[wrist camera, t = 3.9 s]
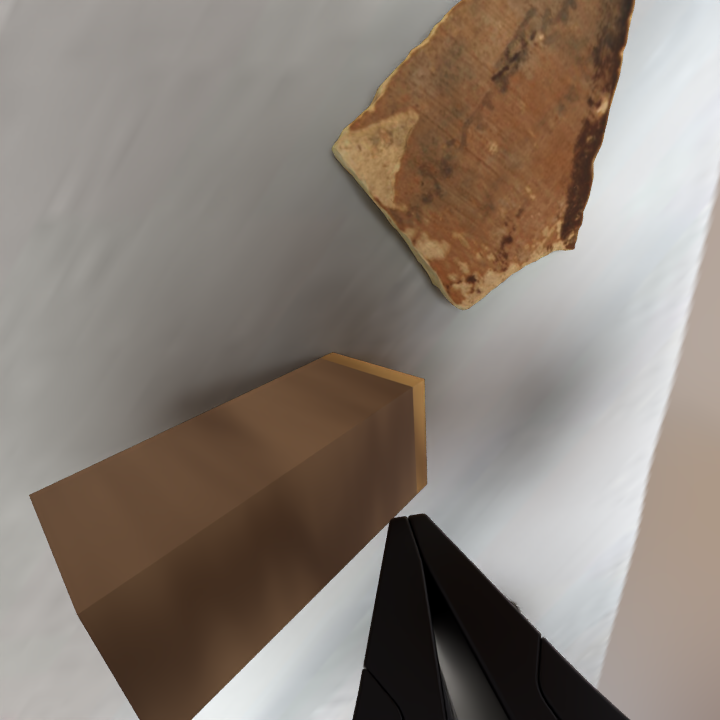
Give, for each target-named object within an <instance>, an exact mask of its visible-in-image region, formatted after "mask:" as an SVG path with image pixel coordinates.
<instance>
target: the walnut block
mask: <svg viewBox="0 0 720 720" xmlns="http://www.w3.org/2000/svg"><path fill="white" fill-rule="evenodd" d="M426 485H427V457H426V418H425V379H423V378H419V377H416V376H412V375H409V374H405V373H402V372H399V371H395V370H392V369H388V368H385V367H381V366H378V365H374V364H371V363H368V362H364V361H361V360H357V359H354V358H350V357H347V356H343V355H340V354H337V353H333V352H332V353H330V354H328V355H326V356H324V357H321V358H319V359H317V360H315V361H313V362H311V363H309V364H307V365H304V366H302V367H300V368H298V369H296V370H294V371H292V372H290V373H287V374H285V375H283V376H281V377H279V378H277V379H275V380H273V381H270V382H268V383H266V384H264V385H262V386H260V387H258V388H256V389H253V390H251V391H249V392H247V393H245V394H243V395H241V396H239V397H236V398H234V399H232V400H230V401H228V402H226V403H224V404H222V405H219V406H217V407H215V408H213V409H211V410H209V411H207V412H205V413H202V414H200V415H198V416H196V417H194V418H192V419H190V420H188V421H185V422H183V423H181V424H179V425H177V426H175V427H173V428H171V429H168V430H166V431H164V432H162V433H160V434H158V435H156V436H154V437H151V438H149V439H147V440H145V441H143V442H141V443H139V444H137V445H134V446H132V447H130V448H128V449H126V450H124V451H122V452H120V453H117V454H115V455H113V456H111V457H109V458H107V459H105V460H103V461H100V462H98V463H96V464H94V465H92V466H90V467H88V468H86V469H83V470H81V471H79V472H77V473H75V474H73V475H71V476H69V477H66V478H64V479H62V480H60V481H58V482H56V483H54V484H52V485H49V486H47V487H45V488H43V489H41V490H39V491H37V492H35V493H32V494H30V495H29V496H30V499H31V501H32V504H33V506H34V509H35V511H36V514H37V516H38V518H39V521H40V523H41V526H42V528H43V531H44V533H45V536H46V538H47V541H48V543H49V546H50V548H51V551H52V553H53V556H54V558H55V561H56V563H57V566H58V568H59V571H60V573H61V576H62V578H63V581H64V583H65V586H66V588H67V591H68V593H69V596H70V598H71V601H72V603H73V606H74V608H75V610H76V613H77V615H78V617H79V619H80V620H81V622H82V624H83V625H84V627H85V629H86V630H87V632H88V634H89V635H90V637H91V639H92V640H93V642H94V644H95V645H96V647H97V649H98V651H99V652H100V654H101V656H102V657H103V659H104V661H105V662H106V664H107V666H108V667H109V669H110V671H111V672H112V674H113V676H114V677H115V679H116V681H117V682H118V684H119V686H120V687H121V689H122V691H123V692H124V694H125V696H126V697H127V699H128V701H129V703H130V704H131V706H132V708H133V709H134V711H135V713H136V714H137V716H138V718H139V719H140V720H191V719H192V718H193V717H194V716H195V715H196V714H197V713H198V712H199V711H200V710H201V709H202V708H203V707H204V706H205V705H206V704H207V703H208V702H209V701H210V700H211V699H212V698H213V697H214V696H215V695H216V694H217V693H218V692H219V691H220V690H221V689H222V688H223V687H224V686H225V685H226V684H227V683H228V682H229V681H230V680H231V679H232V678H233V677H235V676H236V675H237V674H238V673H239V672H240V671H241V670H242V669H243V668H244V667H245V666H246V665H247V664H248V663H249V662H250V661H251V660H252V659H253V658H254V657H255V656H256V655H257V654H258V653H259V652H260V651H261V650H262V649H263V648H264V647H265V646H266V645H267V644H268V643H269V642H270V641H271V640H272V639H273V638H274V637H275V636H276V635H277V634H278V633H279V632H280V631H281V630H282V629H283V628H284V627H285V626H286V625H287V624H288V623H289V622H290V621H291V620H292V619H293V618H294V617H295V616H296V615H297V614H298V613H299V612H300V611H301V610H302V609H303V608H304V607H305V606H306V605H307V604H308V603H309V602H310V601H311V600H312V599H313V598H314V597H315V596H316V595H317V594H318V593H319V592H320V591H321V590H322V589H323V588H324V587H325V586H326V585H327V584H328V583H329V582H330V581H331V580H332V579H333V578H334V577H335V576H336V575H337V574H338V573H339V572H340V571H341V570H342V569H343V568H344V567H345V566H346V565H347V564H348V563H349V562H350V561H351V560H352V559H353V558H354V557H355V556H356V555H357V554H358V553H359V552H360V551H361V550H362V549H363V548H364V547H365V546H366V545H367V544H368V543H369V542H370V541H371V540H372V539H373V538H374V537H375V536H376V535H377V534H378V533H379V532H380V531H381V530H382V529H383V528H384V527H385V526H386V525H387V524H388V523H389V522H390V519H392V518H394V517H395V516H396V515H397V514H398V513H399V512H400V511H401V510H402V509H403V508H404V507H405V506H406V505H407V504H408V503H409V502H410V501H411V500H412V499H413V498H414V497H415V496H416V495H417V494H418V493H419V492H420V491H421V490H422V489H423V488H424V487H425V486H426Z"/></svg>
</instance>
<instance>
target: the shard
mask: <svg viewBox="0 0 720 720" xmlns="http://www.w3.org/2000/svg"><path fill="white" fill-rule="evenodd" d="M634 5H635V0H462V1H460V2H459V3H458V4H456V5H455V6H454V7H453V8H452V9H451V10H450V11H449V12H448V13H447V14H446V15H445V16H444V17H443V19H442V20H441V21H440V22H439V23H438V24H436V25H435V26H434V28H433V29H432V31H431V32H430V34H429V36H428V37H427V38H426V39H425V40H424V41H423V42H422V43H421V44H420V45H418V46H417V47H415V48H414V49H412V50H411V51H410V53H409V55H408V56H407V58H406V59H405V60H404V61H403V62H402V63H401V64H400V65H399V66H398V67H397V68H396V69H395V70H394V71H393V72H392V73H391V75H390V76H389V77H388V78H387V79H386V80H385V81H384V82H383V83H382V84H381V86H380V87H379V88H378V89H377V92H376V94H375V97H374V99H373V101H372V103H371V105H370V106H369V107H368V108H367V109H366V110H365V111H364V112H363V113H362V114H360V115H359V116H358V117H357V118H356V119H355V120H354V121H353V122H352V123H351V124H349V125H348V126H347V127H346V128H344V129H343V131H342V133H341V135H340V137H339V139H338V140H337V142H335V144H334V145H333V147H332V151H333V153H334V155H335V157H336V159H337V160H338V161H339V162H340V163H341V165H342V166H343V167H344V168H345V169H346V170H347V171H348V173H350V174H351V175H352V176H353V177H354V178H355V180H356V181H357V182H358V184H359V185H360V186H361V187H362V188H363V189H364V191H365V192H366V193H367V194H368V195H369V196H370V198H371V199H372V200H373V201H374V203H375V204H376V205H377V206H378V207H379V209H380V210H381V211H382V212H383V213H384V215H385V216H386V218H387V219H388V221H389V223H390V224H391V225H392V226H393V227H394V228H395V229H396V230H397V231H398V232H399V233H400V235H401V236H402V238H403V239H404V240H405V241H406V243H407V244H408V246H409V247H410V249H411V251H412V252H413V254H414V255H415V257H416V259H417V261H418V262H419V263H421V265H422V266H423V268H424V269H425V270H426V271H427V273H428V275H429V277H430V279H431V281H432V283H433V285H435V286H437V287H438V288H439V289H440V290H441V292H442V294H443V295H444V296H445V297H446V298H447V299H448V300H449V302H450V303H451V304H452V305H454V306H455V307H456V308H458V309H461V310H466V309H469V308H470V307H471V306H473V305H474V304H475V303H477V302H478V301H480V300H481V299H482V298H484V297H485V296H486V295H487V294H488V293H489V292H490V291H491V290H493V289H494V288H496V287H497V286H498V285H499V284H500V283H502V282H504V281H505V280H506V279H507V278H508V277H509V276H510V275H512V274H513V273H515V272H517V271H519V270H520V269H522V268H523V267H524V266H526V265H528V264H530V263H532V262H535V261H537V260H538V259H540V258H542V257H544V256H546V255H548V254H549V253H551V252H553V251H557V250H565V251H566V250H573V249H574V248H575V243H576V240H577V235H578V230H579V228H580V226H581V225H582V221H583V211H584V209H585V206H586V204H587V202H588V199H589V195H590V191H591V186H592V181H593V177H594V173H593V163H594V160H595V158H596V156H597V153H598V151H599V149H600V147H601V145H602V142H603V138H604V133H605V128H606V125H607V120H608V115H609V109H610V106H611V103H612V100H613V96H614V93H615V90H616V86H617V83H618V79H619V76H620V71H621V66H622V61H623V51H624V49H625V46H626V43H627V39H628V32H629V27H630V22H631V18H632V13H633V10H634Z"/></svg>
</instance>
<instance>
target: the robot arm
mask: <svg viewBox="0 0 720 720" xmlns="http://www.w3.org/2000/svg"><path fill="white" fill-rule="evenodd" d="M363 667H364V669H363V670H362V674H361V680H360V686H359V691H358V696H357V701H356V705H355V710H354V715H353V719H352V720H630V719H629V718H628V717H626V716H625V715H624V714H623V713H622V712H621V711H619V709H617V708H616V707H615V706H614V705H613V704H612V703H611V702H610V701H609V700H608V699H607V698H605V697H604V696H603V695H602V694H601V693H600V692H599V691H598V690H597V689H596V688H594V687H593V686H592V685H591V684H590V683H589V682H588V681H587V680H586V679H585V678H584V677H583V676H582V675H581V674H580V673H579V672H578V671H577V670H576V669H575V668H574V667H573V666H572V665H571V664H570V663H569V662H568V661H567V660H566V659H565V658H564V657H563V656H562V655H561V654H560V653H559V652H558V651H557V650H556V649H555V648H554V647H553V646H552V645H551V644H550V643H549V642H548V641H547V639H546V638H544V637H542V638H541V634H540V632H539V631H538V630H537V629H536V628H535V627H534V626H533V625H532V624H531V623H530V622H529V621H528V620H527V619H526V618H525V617H524V616H523V615H522V614H521V612H520V610H519V608H518V607H517V606H515V605H513V604H512V603H511V602H510V601H509V600H508V599H507V598H506V597H505V596H504V595H503V594H502V593H501V592H500V591H499V590H498V589H497V588H496V587H495V586H494V585H493V584H492V582H491V581H490V580H489V579H488V578H487V577H486V576H485V575H484V574H483V573H482V572H481V571H480V570H479V569H478V568H477V567H476V566H475V565H474V564H473V563H472V562H471V561H470V560H469V559H468V557H467V556H466V555H465V554H464V553H463V552H462V551H461V550H460V549H459V548H458V547H457V546H456V545H455V544H454V543H453V542H452V541H451V540H450V539H449V538H448V537H447V536H446V535H445V534H444V533H443V531H442V530H441V529H440V528H439V527H438V526H437V525H436V524H435V523H434V522H433V521H432V520H431V519H430V518H429V517H428V516H427V515H426V514H417V515H410V516H409V517H408V518H407V517H406V516H403V517H397V518H392V519H390V522H389V527H388V533H387V538H386V544H385V549H384V555H383V560H382V566H381V571H380V577H379V582H378V588H377V593H376V599H375V604H374V610H373V615H372V621H371V626H370V632H369V637H368V643H367V648H366V654H365V659H364V665H363Z"/></svg>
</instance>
